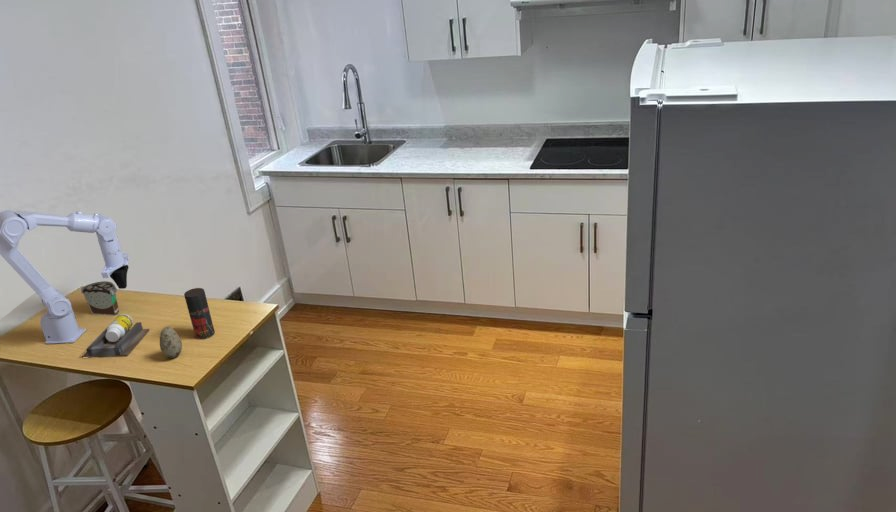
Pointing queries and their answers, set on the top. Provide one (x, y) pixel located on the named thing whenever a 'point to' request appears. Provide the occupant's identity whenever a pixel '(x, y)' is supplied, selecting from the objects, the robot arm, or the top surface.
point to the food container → (101, 298)
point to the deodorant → (199, 313)
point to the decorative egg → (170, 342)
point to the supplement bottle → (119, 327)
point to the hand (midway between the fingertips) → (123, 287)
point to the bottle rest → (116, 343)
